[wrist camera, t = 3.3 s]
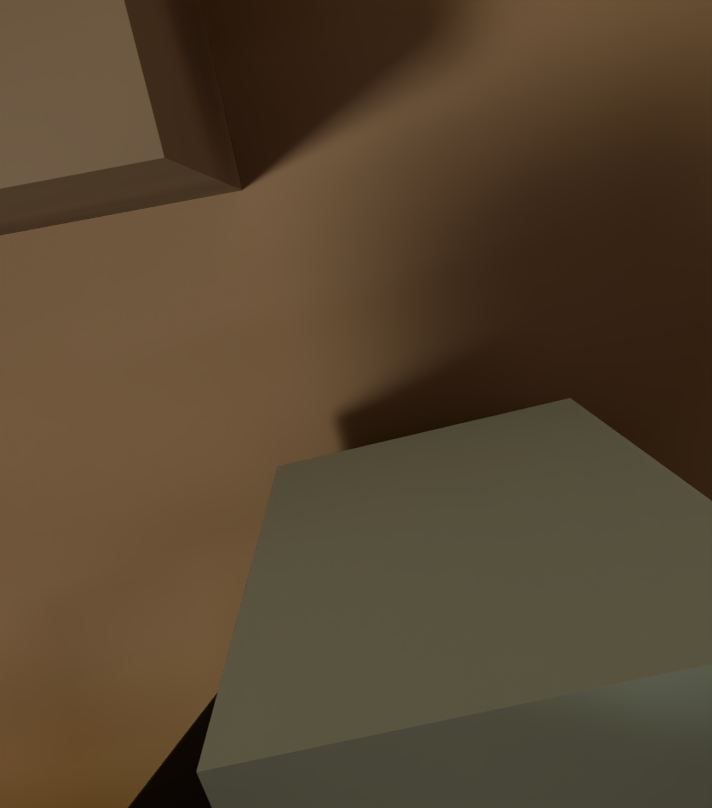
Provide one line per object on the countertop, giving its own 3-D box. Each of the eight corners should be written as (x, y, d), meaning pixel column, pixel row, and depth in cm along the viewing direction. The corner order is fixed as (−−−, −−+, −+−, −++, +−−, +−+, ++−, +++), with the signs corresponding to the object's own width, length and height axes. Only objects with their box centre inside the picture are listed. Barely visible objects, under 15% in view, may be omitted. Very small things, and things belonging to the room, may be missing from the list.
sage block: (601, 640, 10) (860, 1048, 5) (348, 694, 10) (356, 1136, 5) (569, 397, 8) (886, 627, 3) (277, 466, 8) (196, 771, 4)
